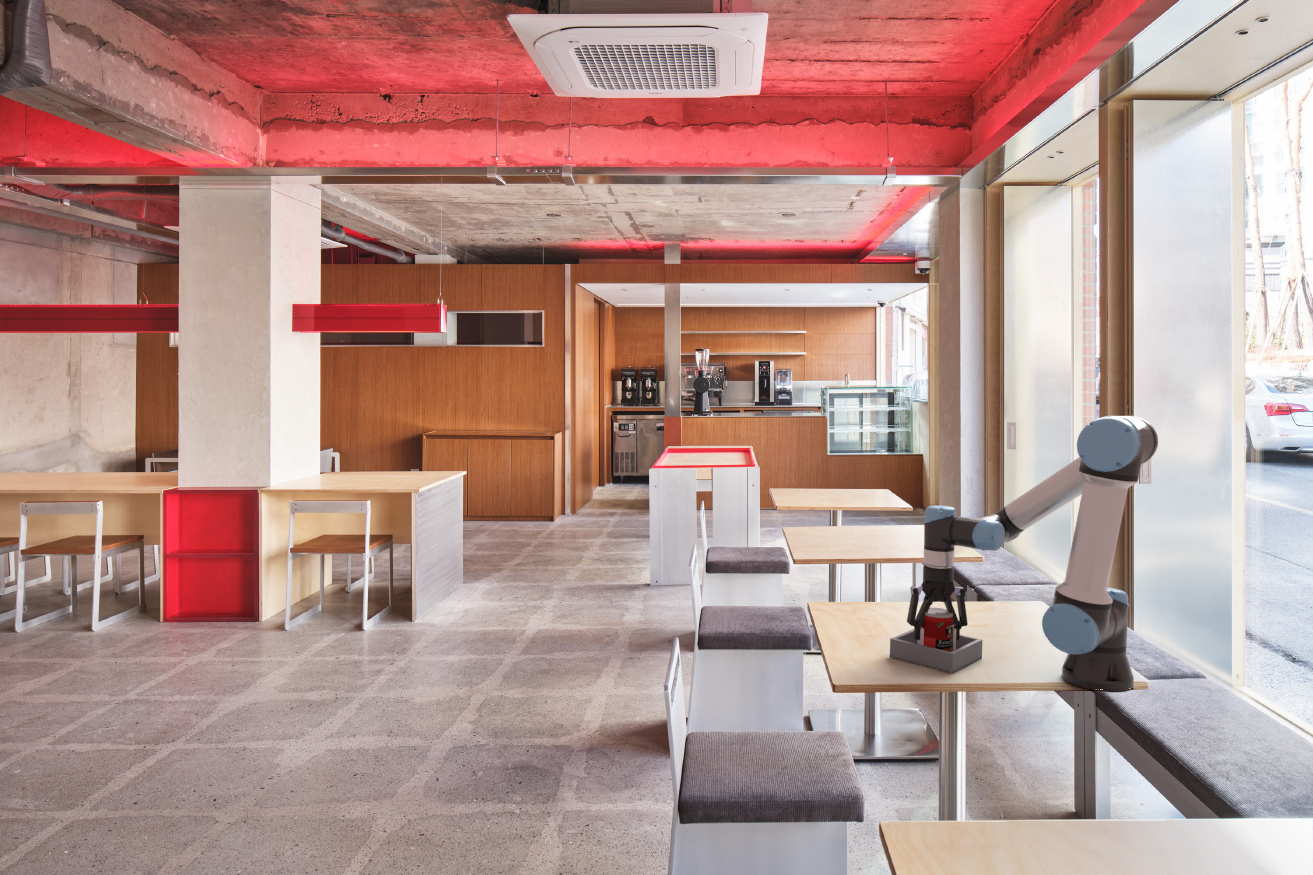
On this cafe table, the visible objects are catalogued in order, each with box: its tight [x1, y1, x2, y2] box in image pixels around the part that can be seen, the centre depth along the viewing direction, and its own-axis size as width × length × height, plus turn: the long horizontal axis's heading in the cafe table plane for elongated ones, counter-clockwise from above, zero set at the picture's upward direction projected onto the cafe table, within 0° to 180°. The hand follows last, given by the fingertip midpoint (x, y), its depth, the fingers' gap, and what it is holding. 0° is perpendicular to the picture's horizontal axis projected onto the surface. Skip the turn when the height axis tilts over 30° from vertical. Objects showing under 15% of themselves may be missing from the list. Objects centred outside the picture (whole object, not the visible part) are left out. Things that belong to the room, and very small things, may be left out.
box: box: [889, 628, 983, 675], centre depth 210 cm, size 17×17×5 cm
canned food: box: [921, 607, 953, 652], centre depth 210 cm, size 8×8×11 cm
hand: (936, 651), depth 210 cm, fingers closed on canned food, 8 cm apart
